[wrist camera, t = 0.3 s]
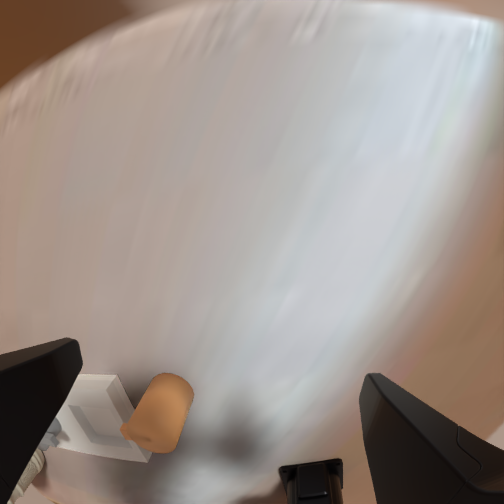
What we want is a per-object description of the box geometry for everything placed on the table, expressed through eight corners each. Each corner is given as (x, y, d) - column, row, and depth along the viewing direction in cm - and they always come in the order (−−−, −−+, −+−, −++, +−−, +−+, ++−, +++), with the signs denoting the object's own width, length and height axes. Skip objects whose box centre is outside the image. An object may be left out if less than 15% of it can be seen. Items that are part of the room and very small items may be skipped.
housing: (154, 446, 27) (137, 487, 22) (63, 434, 29) (42, 463, 23) (117, 374, 25) (88, 414, 19) (25, 370, 27) (-4, 397, 21)
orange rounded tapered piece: (199, 406, 25) (183, 454, 20) (154, 407, 26) (132, 450, 20) (186, 371, 24) (165, 419, 19) (139, 374, 25) (111, 416, 19)
